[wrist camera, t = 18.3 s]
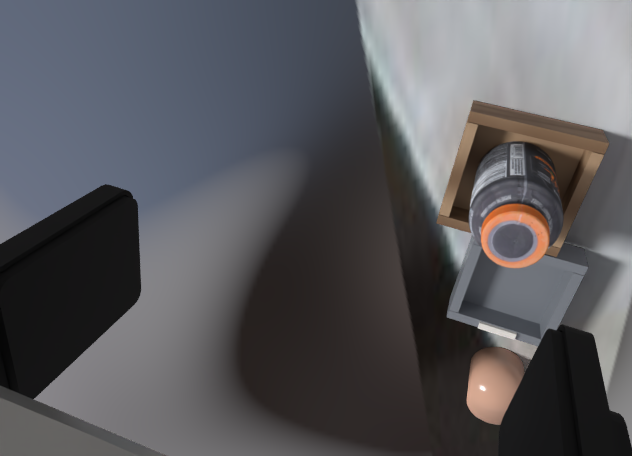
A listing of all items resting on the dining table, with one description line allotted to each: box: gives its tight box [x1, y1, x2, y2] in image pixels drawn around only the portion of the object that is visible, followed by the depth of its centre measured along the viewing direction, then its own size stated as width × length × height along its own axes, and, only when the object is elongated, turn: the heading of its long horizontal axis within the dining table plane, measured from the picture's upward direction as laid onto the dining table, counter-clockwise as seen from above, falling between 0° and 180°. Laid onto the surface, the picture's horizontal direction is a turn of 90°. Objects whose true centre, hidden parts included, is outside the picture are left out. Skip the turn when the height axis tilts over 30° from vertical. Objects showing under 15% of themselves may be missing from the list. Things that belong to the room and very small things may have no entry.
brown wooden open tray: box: [437, 100, 609, 257], centre depth 40 cm, size 10×10×3 cm
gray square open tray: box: [447, 236, 588, 346], centre depth 45 cm, size 9×9×3 cm
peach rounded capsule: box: [467, 347, 524, 425], centre depth 49 cm, size 5×5×5 cm
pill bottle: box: [469, 141, 564, 268], centre depth 36 cm, size 6×6×11 cm
